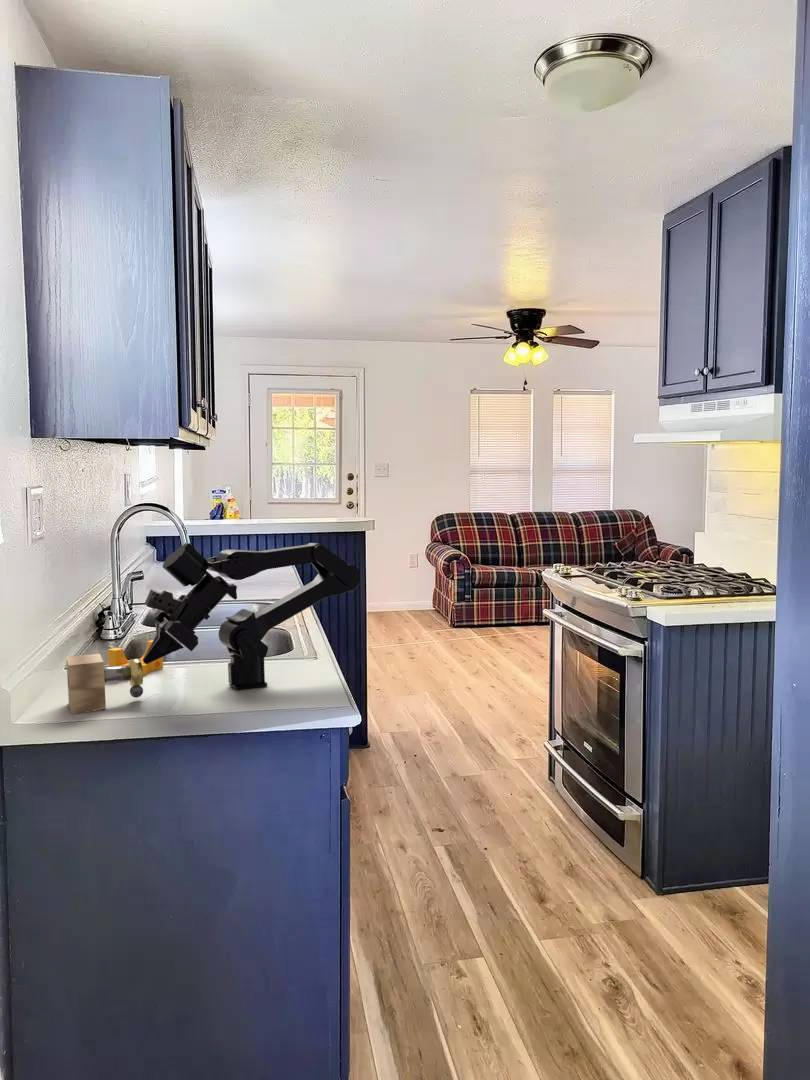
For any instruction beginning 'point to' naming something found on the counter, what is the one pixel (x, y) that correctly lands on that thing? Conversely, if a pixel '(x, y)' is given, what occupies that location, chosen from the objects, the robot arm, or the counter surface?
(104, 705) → the oak block
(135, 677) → the tan and grey piece
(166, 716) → the counter surface
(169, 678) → the counter surface
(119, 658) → the pipe clamp
